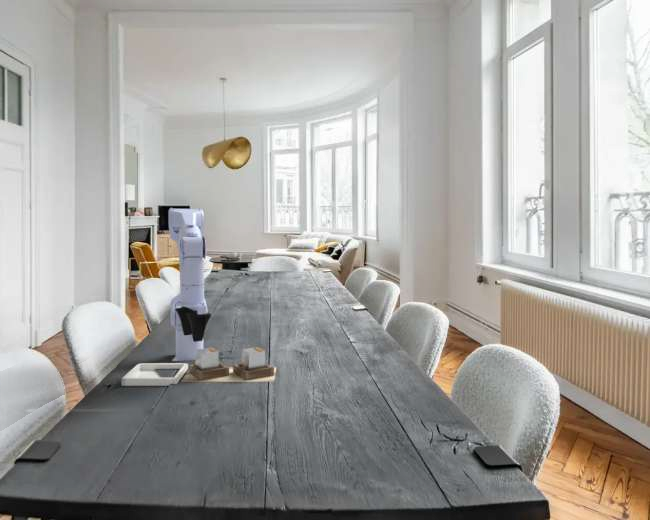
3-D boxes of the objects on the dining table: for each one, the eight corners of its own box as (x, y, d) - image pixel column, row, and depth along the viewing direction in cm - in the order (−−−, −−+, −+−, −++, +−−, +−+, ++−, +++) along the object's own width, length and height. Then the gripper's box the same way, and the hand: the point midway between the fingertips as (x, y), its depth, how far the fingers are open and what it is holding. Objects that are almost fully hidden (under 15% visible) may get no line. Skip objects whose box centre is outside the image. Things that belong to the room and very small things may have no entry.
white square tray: (138, 371, 128) (138, 363, 128) (188, 371, 129) (188, 363, 129) (121, 388, 116) (121, 378, 115) (176, 387, 116) (176, 378, 116)
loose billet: (195, 373, 124) (195, 348, 124) (212, 370, 127) (212, 346, 126) (201, 378, 120) (201, 352, 120) (218, 375, 123) (218, 350, 122)
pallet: (191, 370, 130) (191, 359, 129) (276, 370, 131) (276, 359, 131) (180, 385, 118) (180, 373, 117) (274, 385, 119) (274, 373, 119)
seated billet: (241, 372, 125) (241, 348, 125) (257, 370, 127) (257, 346, 127) (248, 377, 121) (248, 352, 121) (265, 374, 124) (265, 350, 123)
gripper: (168, 282, 129) (168, 333, 130) (185, 289, 117) (186, 346, 118) (195, 280, 133) (195, 331, 134) (214, 287, 120) (214, 342, 122)
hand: (192, 337), depth 126 cm, fingers open, 7 cm apart
